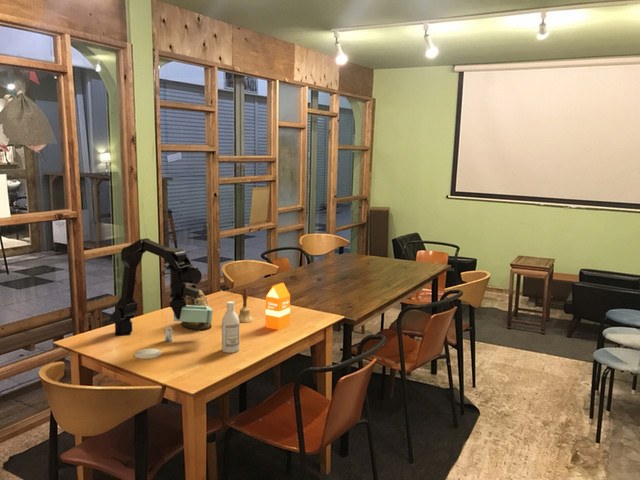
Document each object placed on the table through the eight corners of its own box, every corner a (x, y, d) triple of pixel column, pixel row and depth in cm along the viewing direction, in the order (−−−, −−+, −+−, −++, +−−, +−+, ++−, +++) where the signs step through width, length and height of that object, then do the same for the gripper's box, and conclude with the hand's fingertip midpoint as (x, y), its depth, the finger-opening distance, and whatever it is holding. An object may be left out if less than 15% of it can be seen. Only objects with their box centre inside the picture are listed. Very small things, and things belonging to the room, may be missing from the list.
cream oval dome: (133, 359, 200) (133, 358, 200) (135, 350, 210) (135, 349, 210) (160, 357, 203) (160, 356, 203) (161, 348, 213) (161, 347, 212)
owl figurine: (173, 324, 244) (172, 288, 242) (194, 319, 253) (194, 284, 251) (196, 332, 233) (196, 295, 230) (218, 327, 241) (217, 290, 239)
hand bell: (256, 318, 255) (256, 286, 253) (249, 323, 247) (249, 290, 245) (240, 316, 257) (240, 285, 255) (233, 321, 250) (232, 288, 247)
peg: (165, 342, 220) (164, 329, 219) (165, 339, 223) (164, 327, 222) (172, 341, 221) (172, 329, 220) (172, 339, 224) (172, 326, 223)
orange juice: (290, 325, 246) (290, 283, 243) (279, 330, 239) (279, 287, 236) (276, 322, 250) (276, 281, 247) (265, 327, 243) (265, 284, 240)
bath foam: (242, 350, 213) (242, 302, 210) (229, 354, 208) (228, 305, 205) (232, 345, 217) (232, 299, 214) (218, 350, 212) (218, 302, 209)
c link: (209, 318, 227) (210, 306, 228) (211, 322, 216) (212, 310, 216) (173, 316, 223) (174, 304, 223) (173, 321, 212) (174, 308, 212)
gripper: (199, 285, 204) (199, 324, 207) (197, 275, 222) (197, 310, 224) (169, 286, 201) (170, 325, 204) (169, 276, 219) (170, 312, 221)
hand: (178, 318), depth 213 cm, fingers closed on c link, 2 cm apart
